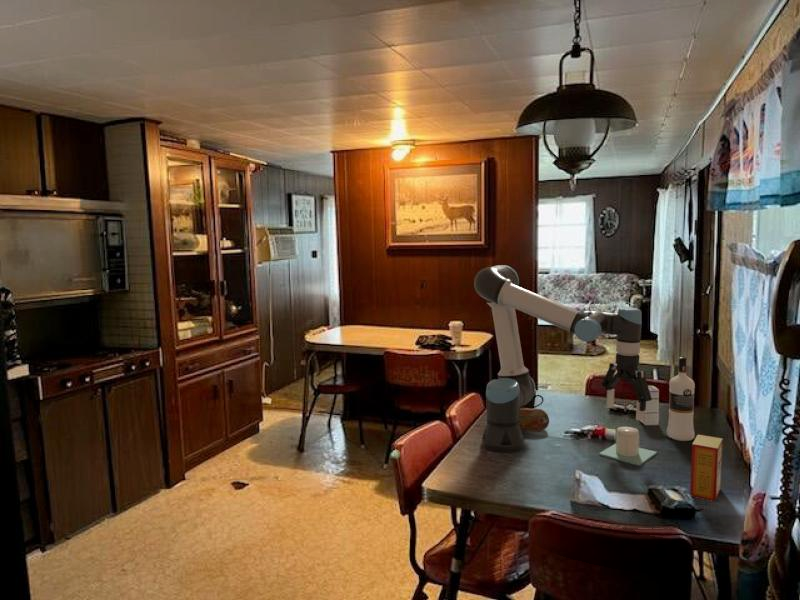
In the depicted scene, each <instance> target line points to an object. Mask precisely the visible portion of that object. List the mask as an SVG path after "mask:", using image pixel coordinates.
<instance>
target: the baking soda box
mask: <svg viewBox="0 0 800 600" xmlns="http://www.w3.org/2000/svg"><path fill="white" fill-rule="evenodd" d="M694 438H695V439H693V442H692V444H691V466H690V468H691V469H690V495H692V496H694V497H693V498H696V497H698V498H697V499H700V498H704V499H703V500H705V499H708V500H707V501H709V500H712V501H711V502H714V501H716V502H717V500H716V499H718V497H719V495H718V494H720V492H719V491H721V484H722V467H723V466H722V464H723V463H722V462H723V460H722V459H723V440H724V439H723V437H722V438H721V437H717V436H711V435H710V436H709V435H705V434H697V435H696V437H694ZM690 495H689V496H690Z"/></svg>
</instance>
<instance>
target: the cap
mask: <svg viewBox="0 0 800 600" xmlns="http://www.w3.org/2000/svg"><path fill="white" fill-rule="evenodd" d="M639 433H640V432H639V429H637V428H635V427H632V426H620V427H619V426H618V427H617V428H616V434H615V439H616V440H615V442H616V452H617V453H618V454H620V455H623V456H636V455H638V454H639V448H640V434H639Z"/></svg>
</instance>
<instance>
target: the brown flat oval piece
mask: <svg viewBox="0 0 800 600" xmlns="http://www.w3.org/2000/svg"><path fill="white" fill-rule="evenodd" d="M549 424H550V418H549V416H548V413H547V412H546V411H545V410H543V409H541V408H534V409H525V408H520V409H519V426H520V429H521V432H522V431H525V432H526V431H527V432H542V431H545V430H546V429H547V428H548V426H549Z"/></svg>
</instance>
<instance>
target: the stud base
mask: <svg viewBox="0 0 800 600" xmlns="http://www.w3.org/2000/svg"><path fill="white" fill-rule="evenodd" d="M598 455H599V456H602V457H605V458H608V459H613V460H616V461H619V462H623V463H626V464H631V465H634V466H638V467H641V466H642V465H643V464H646V462H647V461H648V460H650V459H652V458H653V457H655V456H656V455H658V451H655V450H650V449H646V448H642V447H639V454H638V455H636V456H623V455H620V454H618V453H617V452H616V443H614V444H613V445H611V446H609V447H607V448H606V449H604V450H602V451H600V452H599V453H598Z"/></svg>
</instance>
